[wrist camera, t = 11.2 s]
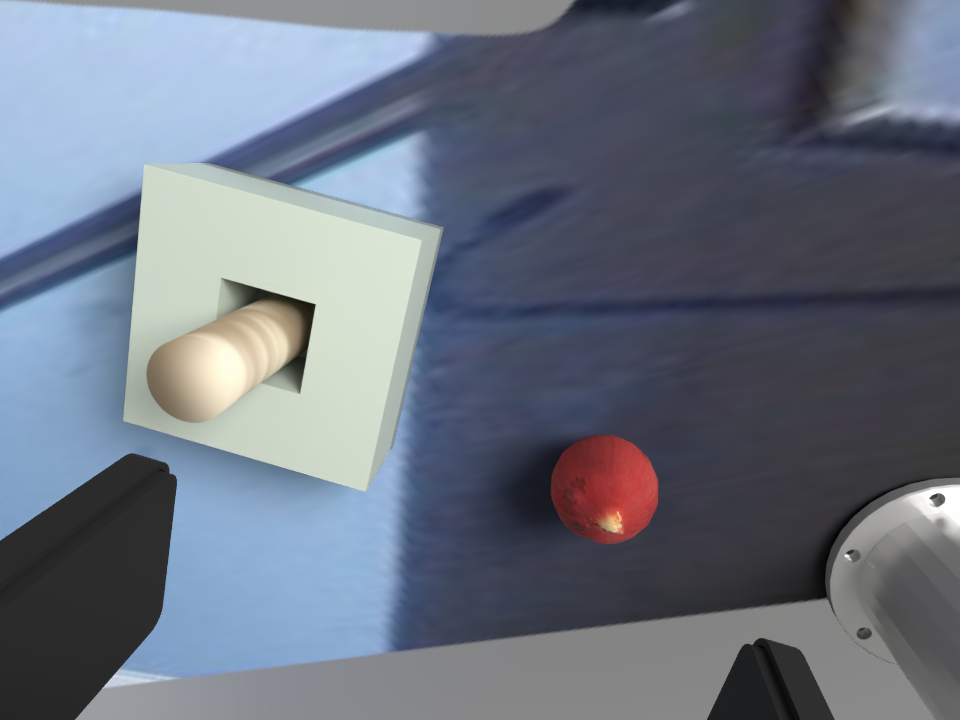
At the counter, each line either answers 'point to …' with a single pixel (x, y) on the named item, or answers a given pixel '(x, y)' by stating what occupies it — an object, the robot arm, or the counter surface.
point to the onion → (604, 489)
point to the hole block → (294, 273)
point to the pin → (228, 357)
